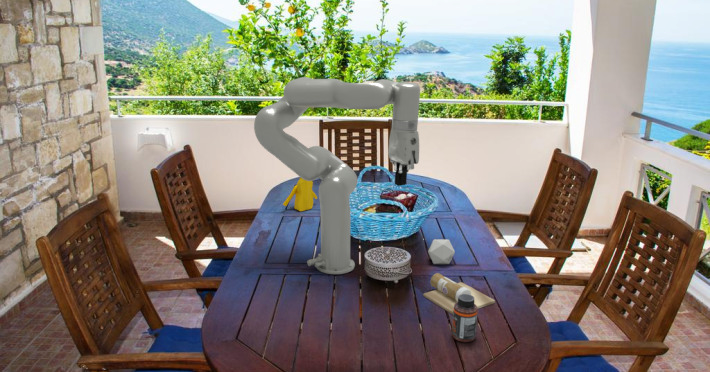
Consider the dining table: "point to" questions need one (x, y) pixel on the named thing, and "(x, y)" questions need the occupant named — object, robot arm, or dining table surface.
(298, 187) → the figure statuette
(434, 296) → the board
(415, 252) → the dining table surface
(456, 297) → the sprinkles bottle
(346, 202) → the robot arm
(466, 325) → the supplement bottle
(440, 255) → the die
